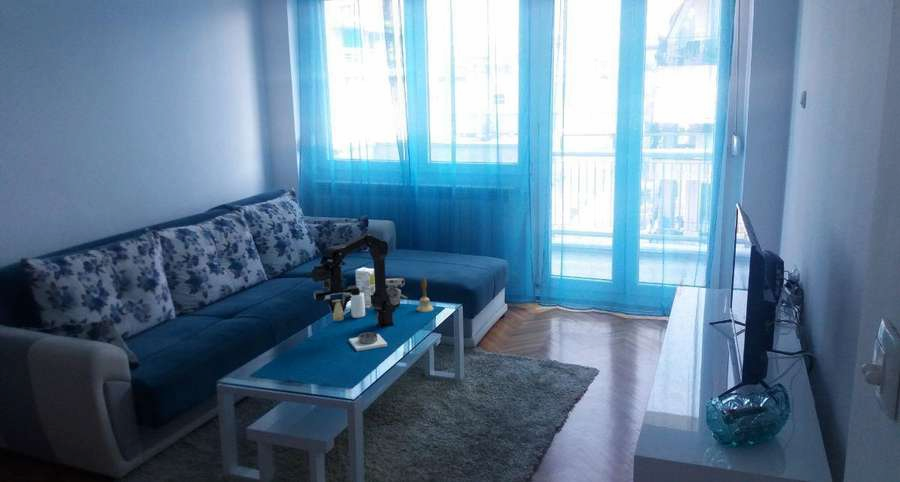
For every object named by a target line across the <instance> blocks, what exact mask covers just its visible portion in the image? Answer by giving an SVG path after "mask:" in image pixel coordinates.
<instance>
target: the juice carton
mask: <svg viewBox="0 0 900 482" xmlns="http://www.w3.org/2000/svg"><path fill="white" fill-rule="evenodd" d="M355 285H356V286H357V287H358V288H359V290H361V291H363V294H364V302H365V309H370V308H373V307H372V304H371V297H370V296H371V295H373V293H374V292H375V280H374V268H369V267H364V266H363V267H360V268H357V269H355Z"/></svg>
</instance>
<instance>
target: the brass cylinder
mask: <svg viewBox="0 0 900 482" xmlns="http://www.w3.org/2000/svg"><path fill="white" fill-rule="evenodd" d="M332 305H333V313H332V318H333V321H335V322H337V321H343V320H344V319H345V318H344V317H345V316H344V312H343V299H334V300H332Z"/></svg>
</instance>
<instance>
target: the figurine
mask: <svg viewBox="0 0 900 482" xmlns="http://www.w3.org/2000/svg"><path fill="white" fill-rule="evenodd" d="M385 280H386V291H387V293H388V295H389V297H390V303H391V304H392V305H393V306H395V307H400V306H401V302H402V303H403V302H404V299H405V300H408V298H410V294H408V295H407V296H405V295H404V294H402V290H401V289H399V288H402V287H403V286H404V285H405V279H404V278H403V277H400V278H399V277H398V278H397V277H396V278H385ZM387 287H388V288H387ZM401 298H402V299H401Z"/></svg>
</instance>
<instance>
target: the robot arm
mask: <svg viewBox="0 0 900 482" xmlns="http://www.w3.org/2000/svg"><path fill="white" fill-rule="evenodd" d="M364 246H365V247H367V248H368V250H369V254H370V256H371V259H372V260H373V269H374V280H375V292H374V293H373V295H371V296H370V297H371V304H372V307H371V308H373V309H374V311H375V312H377V314H376V317H375V318H376V324H377V325H378V326H379V327H380V328H384V327H391V326H395V324H394V321H393V319H394V318H393V314H394V313H395V311H396V305H392V304H391V303H390V297H389V295H388V293H387V291H386V289H387V285H386V280H385V279H386V261H385V260H386V258H387V256H388V254H389V252H388V251H389V243H388V242H387V240H381V239H379V238H377V237H374V236H372V234H368V233H362V234H360V235H359V236H356V237H354V238H352V239H350V240H348V241H346V242H344V243H342V244H339V245H337V244H336V245H332V246H328V247H327V248H325V251H324V254H323V255H322V258H321V259H320V262H319V265H318V264H317V265H313V268H312V270H311V272H310V275H311V279H312V281H313V282H315V283H320V282H322V287H323V289H327V290H328V291H324V290H323V289H319V290H314V291H313V298H314V299H315V301H322V300H323V301H324V302H326V303H327V305H328V307H329V309H330V312H331V313H332V314H333V305H332V301H333V300H332V298H331V297H332V296H339V295H341V296H342V301H343V313H344V312H345V311H346V307H347V305H348V303H349V300H350V299H351V298H352V296H351V294H352V295H359V294H360V290H359V288H358V287H357V286H356V284H355V285H349V286H347V288H344V283H343V282H344V279H343V269H342V267H343V266H345V265H347V264H346V262H344V261H343V260H344V259H346V258H347V255H348V254H350V253H352V252H354V251H357V250H358V249H361V248H362V247H364Z"/></svg>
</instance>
